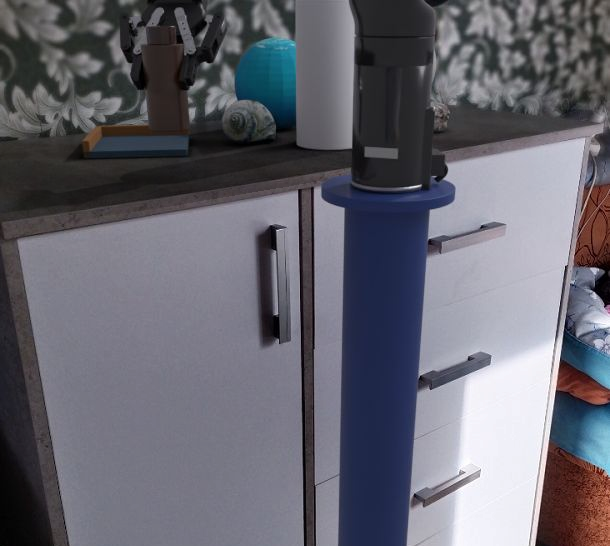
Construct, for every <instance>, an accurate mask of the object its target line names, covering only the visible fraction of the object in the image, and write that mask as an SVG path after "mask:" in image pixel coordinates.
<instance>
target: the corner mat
mask: <svg viewBox="0 0 610 546" xmlns="http://www.w3.org/2000/svg"><path fill="white" fill-rule="evenodd" d="M81 145H82V153H83V159H116V158H117V159H118V158H119V159H121V158H161V157H163V158H165V157H187V156H188V152H189V145H190V129H188V130H184V131H176V132H155V131H151V130H149V124H120V125H118V124H117V125H115V124H114V125H113V124H112V125H95V126H94V127H93V128H92V130H91V131H89V133H88V134H87V135H86V136H85V137H84V138H83V139H82V141H81Z"/></svg>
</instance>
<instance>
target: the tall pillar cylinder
mask: <svg viewBox="0 0 610 546" xmlns="http://www.w3.org/2000/svg"><path fill="white" fill-rule="evenodd" d="M294 4H295V15H294V16H295V42H296V125H295V129H296V130H295V132H296V133H295V135H296V139H295V140H296V145H297V146H298V147H300V148H304V149H309V150H319V151H320V150H321V151H337V150H338V151H339V150H340V151H341V150H350V149H351V150H352V122H353V79H354V37H355V36H356V35H355V34H354V33H355V25H354V19H353V16H352V13H351V10H350V6H349V0H294Z"/></svg>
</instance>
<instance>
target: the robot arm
mask: <svg viewBox="0 0 610 546" xmlns="http://www.w3.org/2000/svg"><path fill="white" fill-rule="evenodd" d="M208 3H209V0H146V6H145V8H144V9H143V10H142V11H141V14H139V15H135V16H130V15H129V13H128V12H121V13H120V14H119V16H118V17H119V46H120V50H121V52H122V55H123V57H124V58H125V61H126V63H128V64H131V67H130V73H129V76H130V79H131V81H132V84H133V86H134V87H136V88H135V89H136V90H137V91H145V83H144V73H143V63H142V53H141V45H142V44H147V35H146V26H176V36H177V43H183V44H184V51H185V53H186V54H184V55H183V60H182V66H181V71H180V76H179V81H180V84H181V87H182V89H183V90H187V91H190V88H191V87H193V86H194V85H195V83H196V79H197V74H198V67H199V66H200V65H201V64H202V63H206V64H213V63H214V62H215V61H216V58H217V55H218V53H219V51H220V49H221V46H222V43H223V42H224V39H225V36H226V34H227V32H228V26H227V22H226V19H225V16H224V13H223V12H222V11H216V12H215V13H214V14H213V15H212V14H207V11H208V10H207V9H208ZM349 6H350V10H351V13H352V16H353V19H354V25H355V33H354V34H355V35H356V36H355V37H354V79H353V122H352V148H351V167H350V174H351V179H350V186H351V187H352V188H354V189H356V190H359V191H363V192H368V193H377V194H405V193H413V192H417V191H422V190H430V180H431V176H432V177H435V178H434V180H435V181H436V182H437V183H438V182H439V181H441V180H442V179H443V180H444V179H445V178H446V177H447V175H448V172H449V167H448V164H447V163H446V154H445V153H444V152H442V151H440V150H439V149H437V148H434V135H435V132H434V121H435V109H434V108H433V107H431V102H432V89H433V88H432V87H433V82H432V75H433V59H434V49H435V43H436V36H435V35H436V30H437V29H436V28H437V13H436V10H435V9H434V7H431V6H430V5H428V4H427V3H426V2H425V1H424V0H349ZM142 27H144V28H143V29H142V31H141V33H140V39H139V40H138V41H137V43H136V37H138V36H139V32H140V29H141V28H142ZM205 28H206V29H207V30H206V32H205V35H204V37H203V39H202V41H201V44H200V46H196V43H195V40H194V39H195V38H196V37H197V36H198V35H199V34H201V32H203V31H204V29H205Z"/></svg>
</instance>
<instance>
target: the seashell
mask: <svg viewBox="0 0 610 546" xmlns="http://www.w3.org/2000/svg"><path fill="white" fill-rule="evenodd" d="M221 128H222V131H223V134H224V136H225V137H226V139H227V140H229V141H230V142H232V143H234V144H238V145H243V144H248V143H252V142H259V141H264V140H272V141H276V137H277V135H276V130H277V129H276V124H275V122H274V119H273V117H272V115H271V114H270V112H269V111H268V110H267V108H266V107H264V106H263V105H262V104H260V103H259V102H256V101H252V100H241V101H238V100H237V101H235V102H233V103H230V105H229V106H228V107H227V108H226V109H225V111H224V113H223V115H222V118H221Z"/></svg>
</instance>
